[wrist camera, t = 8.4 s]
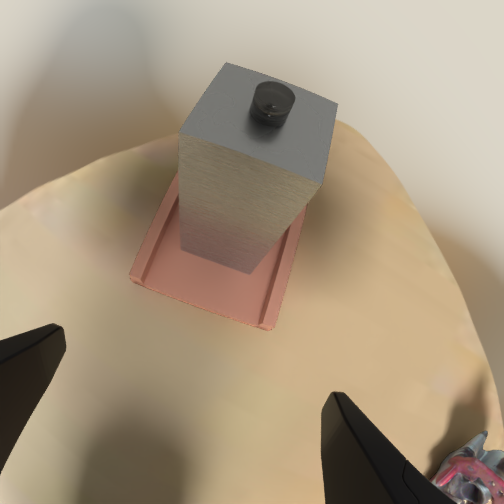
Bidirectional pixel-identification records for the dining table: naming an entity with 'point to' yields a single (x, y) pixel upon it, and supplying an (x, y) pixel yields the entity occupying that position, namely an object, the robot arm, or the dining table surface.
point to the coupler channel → (214, 270)
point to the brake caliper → (472, 474)
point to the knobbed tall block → (249, 164)
